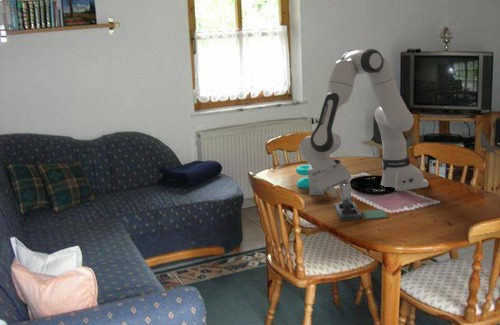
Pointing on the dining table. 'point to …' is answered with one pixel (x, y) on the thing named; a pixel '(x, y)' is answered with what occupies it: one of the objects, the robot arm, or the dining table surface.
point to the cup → (345, 195)
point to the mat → (374, 214)
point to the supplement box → (313, 184)
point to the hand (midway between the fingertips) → (343, 192)
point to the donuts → (303, 171)
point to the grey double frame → (348, 212)
